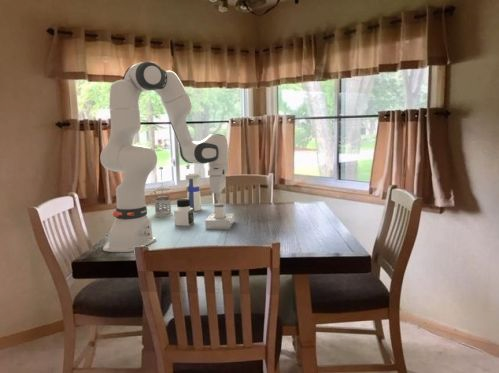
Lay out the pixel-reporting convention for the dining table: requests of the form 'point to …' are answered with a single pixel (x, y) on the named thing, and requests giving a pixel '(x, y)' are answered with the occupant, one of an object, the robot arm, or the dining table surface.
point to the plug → (220, 210)
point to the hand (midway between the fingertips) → (218, 199)
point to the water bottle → (193, 190)
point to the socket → (219, 221)
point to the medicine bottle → (183, 213)
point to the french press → (166, 200)
